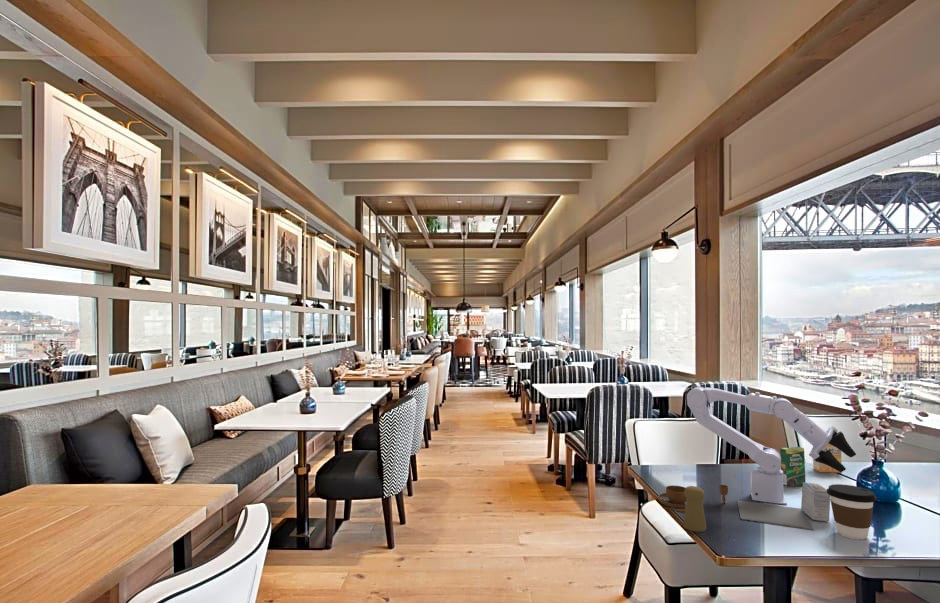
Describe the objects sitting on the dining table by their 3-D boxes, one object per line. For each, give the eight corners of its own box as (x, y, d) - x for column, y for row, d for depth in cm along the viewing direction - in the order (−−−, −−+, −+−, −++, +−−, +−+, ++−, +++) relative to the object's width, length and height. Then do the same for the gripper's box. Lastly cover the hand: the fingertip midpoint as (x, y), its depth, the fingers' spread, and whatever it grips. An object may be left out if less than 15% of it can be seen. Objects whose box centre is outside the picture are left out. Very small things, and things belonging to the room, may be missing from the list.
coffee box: (786, 487, 180) (785, 449, 180) (780, 484, 182) (779, 447, 183) (806, 485, 181) (805, 448, 182) (799, 483, 184) (798, 446, 185)
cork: (705, 524, 145) (704, 485, 145) (707, 532, 139) (707, 491, 140) (682, 522, 147) (681, 482, 147) (683, 529, 141) (683, 489, 142)
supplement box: (819, 472, 198) (818, 438, 199) (812, 468, 203) (812, 435, 204) (842, 473, 197) (841, 439, 198) (835, 470, 202) (835, 436, 202)
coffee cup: (856, 527, 144) (855, 483, 144) (889, 543, 133) (887, 496, 134) (818, 527, 144) (816, 483, 144) (847, 543, 133) (846, 496, 133)
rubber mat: (740, 519, 149) (740, 518, 149) (737, 501, 164) (737, 500, 164) (813, 530, 141) (813, 528, 141) (802, 510, 157) (802, 508, 157)
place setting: (663, 493, 174) (663, 475, 174) (729, 503, 164) (729, 485, 164) (652, 508, 159) (652, 489, 159) (724, 521, 149) (724, 501, 149)
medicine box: (829, 522, 147) (831, 492, 147) (812, 520, 148) (814, 489, 148) (816, 512, 155) (818, 483, 155) (800, 510, 156) (802, 481, 156)
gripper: (805, 437, 156) (847, 472, 150) (826, 411, 162) (867, 444, 157) (791, 446, 161) (831, 481, 155) (812, 421, 168) (851, 453, 162)
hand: (848, 463), depth 157 cm, fingers open, 7 cm apart
